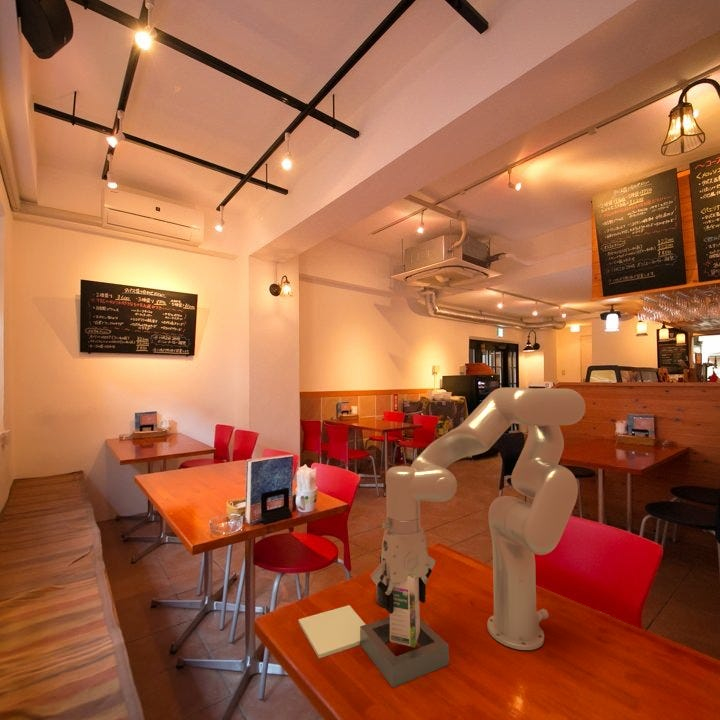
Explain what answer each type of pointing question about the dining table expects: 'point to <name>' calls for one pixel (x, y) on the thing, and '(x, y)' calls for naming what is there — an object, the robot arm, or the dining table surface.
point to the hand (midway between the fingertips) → (404, 604)
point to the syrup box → (405, 613)
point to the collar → (409, 663)
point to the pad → (332, 630)
